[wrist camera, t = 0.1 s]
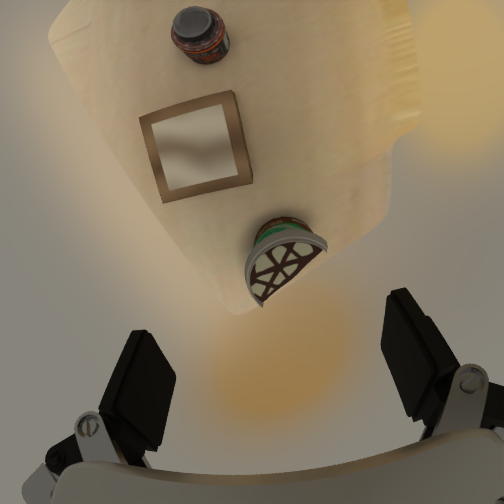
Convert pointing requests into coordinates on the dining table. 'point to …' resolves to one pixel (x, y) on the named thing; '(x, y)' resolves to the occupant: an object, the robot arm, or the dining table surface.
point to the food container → (280, 255)
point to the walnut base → (197, 147)
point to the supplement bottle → (200, 34)
